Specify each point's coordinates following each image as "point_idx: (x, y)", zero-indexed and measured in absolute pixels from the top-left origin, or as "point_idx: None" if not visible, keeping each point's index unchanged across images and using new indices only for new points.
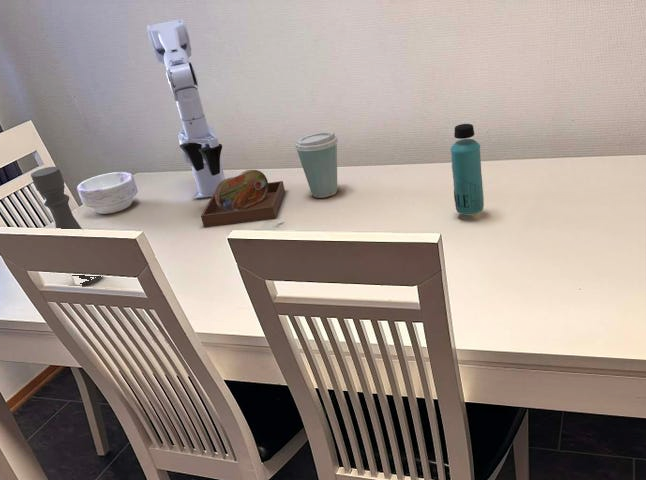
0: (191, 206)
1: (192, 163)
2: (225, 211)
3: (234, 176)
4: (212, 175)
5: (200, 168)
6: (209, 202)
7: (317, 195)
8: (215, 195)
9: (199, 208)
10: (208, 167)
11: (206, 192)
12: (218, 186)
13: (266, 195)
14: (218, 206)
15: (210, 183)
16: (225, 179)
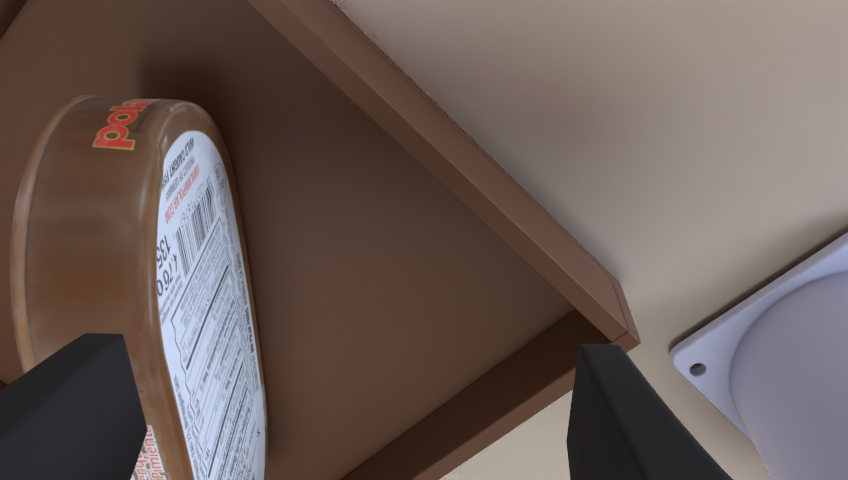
0: (793, 79)
1: (648, 420)
2: (273, 150)
3: (138, 478)
4: (102, 333)
5: (575, 414)
6: (389, 117)
7: None
8: (124, 143)
9: (654, 89)
10: (22, 408)
11: (812, 302)
12: (87, 249)
13: (282, 466)
14: (183, 100)
15: (793, 389)
16: (139, 390)
